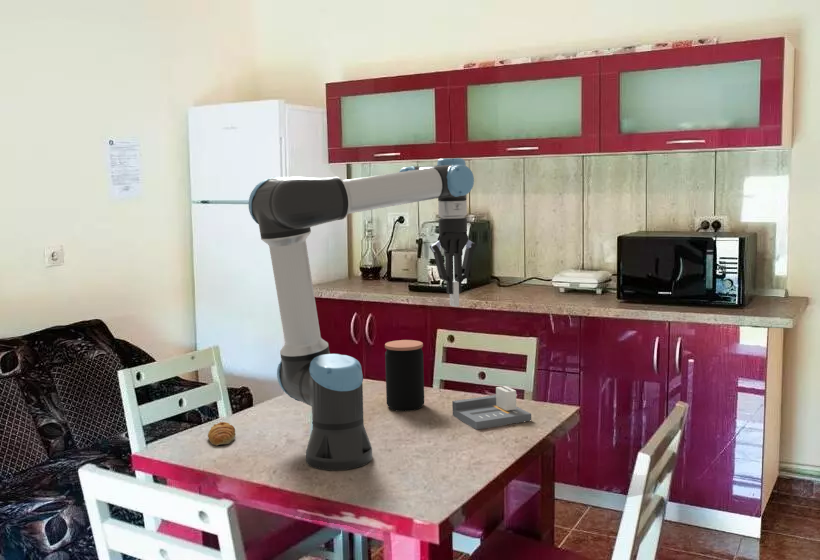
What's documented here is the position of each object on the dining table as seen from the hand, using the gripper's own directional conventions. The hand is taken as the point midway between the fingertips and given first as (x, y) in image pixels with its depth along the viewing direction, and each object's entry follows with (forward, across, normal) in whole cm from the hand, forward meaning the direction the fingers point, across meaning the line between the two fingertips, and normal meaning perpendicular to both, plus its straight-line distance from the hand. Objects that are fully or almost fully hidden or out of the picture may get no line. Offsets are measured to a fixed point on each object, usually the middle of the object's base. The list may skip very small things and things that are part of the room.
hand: (454, 305), depth 219 cm
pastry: (+30, -62, +5) cm, 69 cm away
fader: (+27, +10, -9) cm, 30 cm away
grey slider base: (+29, +6, -9) cm, 31 cm away
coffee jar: (+30, -10, +12) cm, 34 cm away
